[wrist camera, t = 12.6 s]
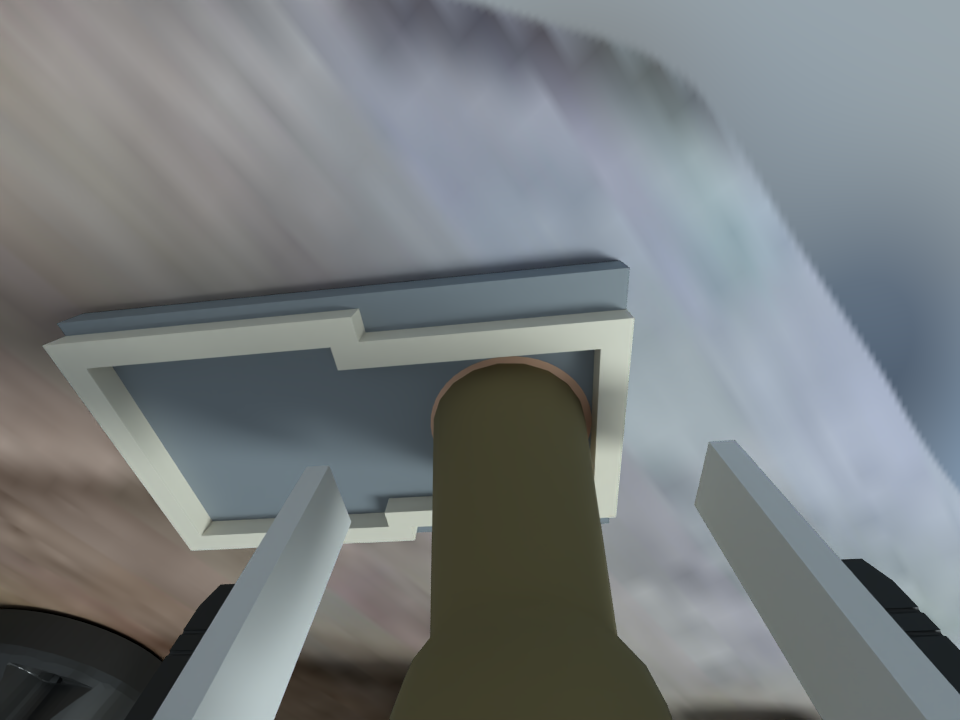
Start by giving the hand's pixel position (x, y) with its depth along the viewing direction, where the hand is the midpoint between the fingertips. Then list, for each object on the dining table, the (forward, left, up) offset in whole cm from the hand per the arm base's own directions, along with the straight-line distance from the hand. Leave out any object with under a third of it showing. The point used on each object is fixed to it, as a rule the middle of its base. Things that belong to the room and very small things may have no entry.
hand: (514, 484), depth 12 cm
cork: (0, 0, -3) cm, 3 cm away
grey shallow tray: (-6, 0, -4) cm, 7 cm away
